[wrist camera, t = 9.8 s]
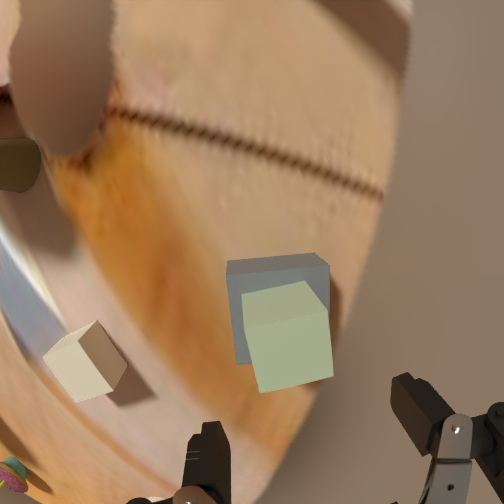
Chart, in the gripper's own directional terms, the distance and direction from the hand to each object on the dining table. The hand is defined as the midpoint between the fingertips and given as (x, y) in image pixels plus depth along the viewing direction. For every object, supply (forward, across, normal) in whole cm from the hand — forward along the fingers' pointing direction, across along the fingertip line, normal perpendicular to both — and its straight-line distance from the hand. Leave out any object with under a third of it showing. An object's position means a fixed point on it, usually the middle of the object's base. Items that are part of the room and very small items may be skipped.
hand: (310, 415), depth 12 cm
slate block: (+17, 0, +1) cm, 17 cm away
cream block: (+17, +20, +3) cm, 26 cm away
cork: (+17, +23, -19) cm, 34 cm away
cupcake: (+16, +58, +30) cm, 68 cm away
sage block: (+12, 0, 0) cm, 12 cm away
